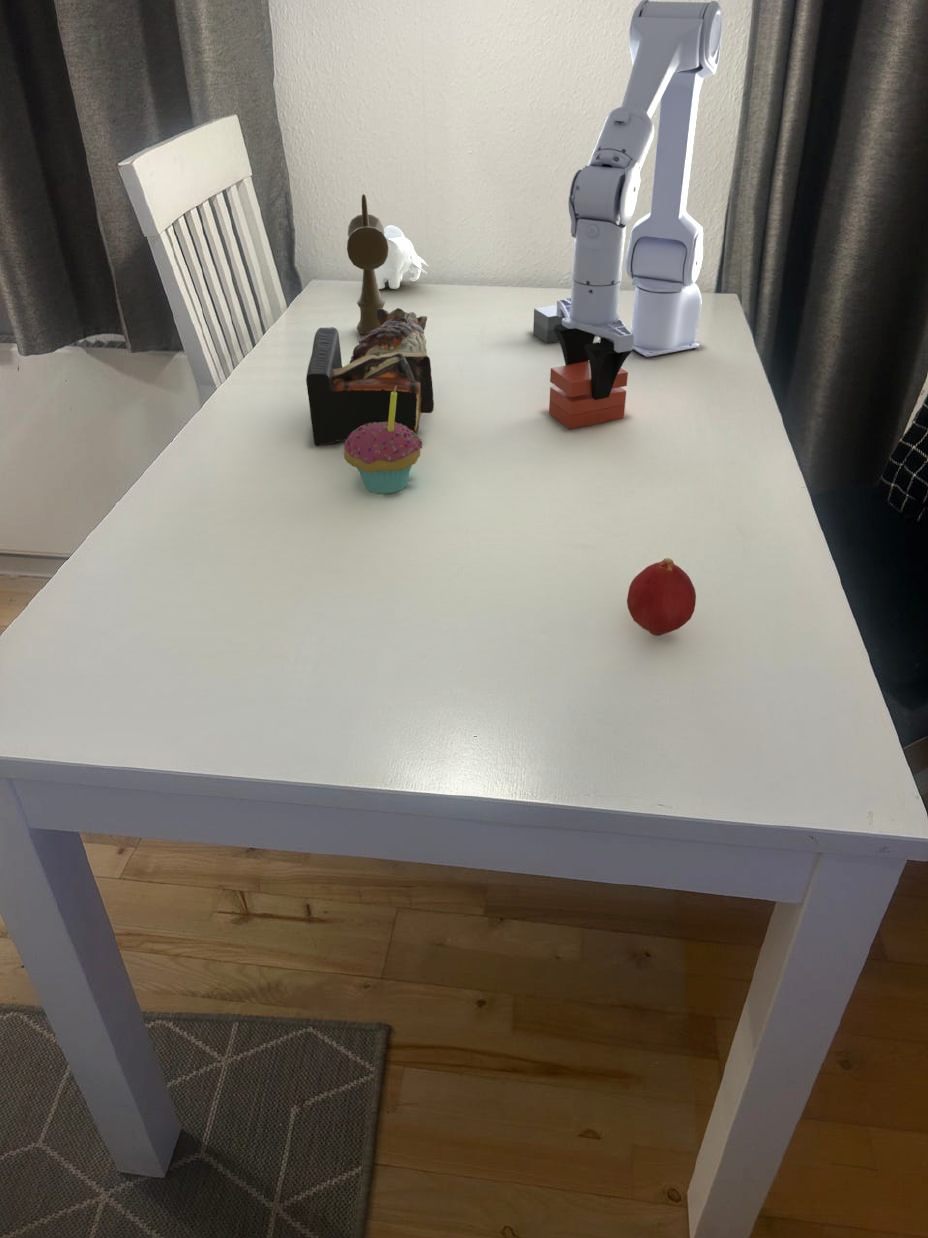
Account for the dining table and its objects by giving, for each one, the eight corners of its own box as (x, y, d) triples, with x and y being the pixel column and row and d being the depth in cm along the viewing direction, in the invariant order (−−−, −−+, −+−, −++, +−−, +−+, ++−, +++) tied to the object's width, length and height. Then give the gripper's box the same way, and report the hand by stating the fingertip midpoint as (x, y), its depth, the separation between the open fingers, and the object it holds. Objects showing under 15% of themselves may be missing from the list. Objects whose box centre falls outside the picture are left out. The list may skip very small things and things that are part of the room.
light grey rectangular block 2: (578, 313, 143) (579, 300, 142) (593, 322, 140) (594, 309, 138) (533, 321, 140) (533, 308, 139) (547, 330, 137) (548, 317, 136)
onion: (617, 615, 83) (625, 540, 78) (679, 611, 83) (691, 537, 79) (631, 655, 78) (641, 578, 74) (697, 651, 79) (711, 575, 74)
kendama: (354, 343, 139) (342, 202, 126) (353, 322, 146) (342, 187, 134) (393, 342, 139) (386, 201, 127) (390, 320, 147) (383, 185, 135)
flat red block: (603, 371, 118) (605, 357, 117) (626, 385, 114) (628, 372, 113) (549, 381, 115) (550, 367, 114) (571, 397, 112) (572, 383, 110)
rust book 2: (602, 389, 120) (603, 375, 119) (625, 404, 116) (626, 390, 115) (549, 400, 117) (550, 386, 116) (570, 415, 113) (571, 402, 112)
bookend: (302, 379, 105) (318, 288, 123) (316, 459, 112) (329, 362, 130) (431, 372, 105) (427, 282, 123) (436, 453, 112) (432, 357, 130)
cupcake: (433, 473, 105) (430, 373, 98) (405, 508, 99) (400, 404, 92) (365, 462, 107) (357, 363, 100) (334, 496, 101) (322, 393, 94)
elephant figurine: (426, 293, 158) (425, 239, 152) (357, 292, 158) (353, 238, 153) (431, 276, 165) (429, 224, 160) (365, 275, 166) (362, 224, 161)
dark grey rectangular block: (577, 326, 144) (578, 313, 143) (592, 335, 141) (593, 322, 140) (532, 333, 141) (533, 321, 140) (547, 343, 138) (547, 330, 137)
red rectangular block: (601, 402, 121) (602, 389, 120) (623, 417, 117) (625, 404, 116) (548, 413, 118) (549, 400, 117) (569, 429, 114) (570, 416, 113)
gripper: (537, 266, 111) (533, 374, 119) (600, 301, 101) (590, 416, 109) (587, 259, 113) (579, 365, 122) (653, 292, 103) (640, 405, 111)
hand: (588, 388), depth 115 cm, fingers closed on flat red block, 5 cm apart
